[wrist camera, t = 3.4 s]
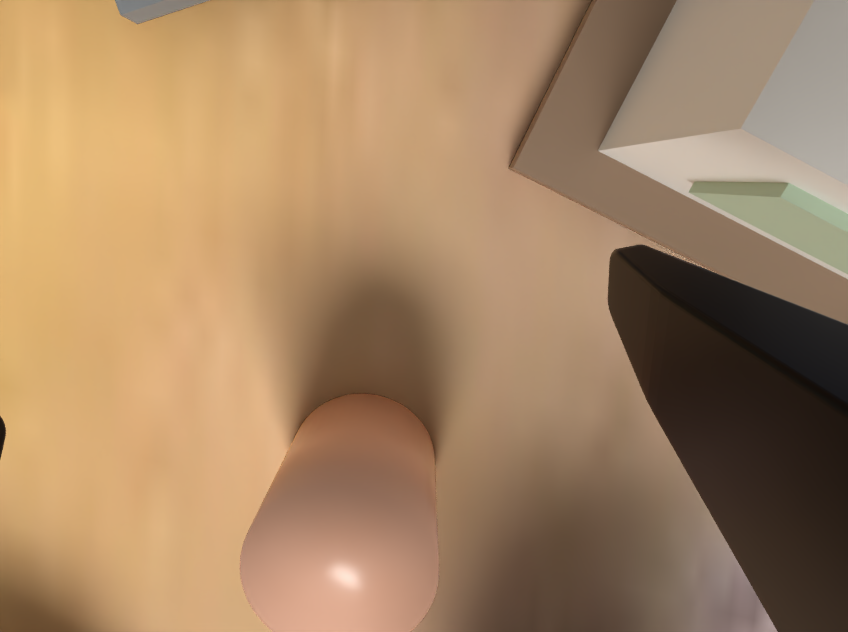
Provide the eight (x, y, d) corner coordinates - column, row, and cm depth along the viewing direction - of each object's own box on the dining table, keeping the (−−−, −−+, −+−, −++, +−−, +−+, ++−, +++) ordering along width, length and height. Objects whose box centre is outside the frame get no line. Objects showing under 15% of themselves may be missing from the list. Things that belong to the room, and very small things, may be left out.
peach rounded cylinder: (459, 429, 20) (473, 530, 15) (397, 545, 21) (388, 682, 16) (326, 370, 20) (285, 449, 14) (269, 491, 21) (210, 612, 15)
